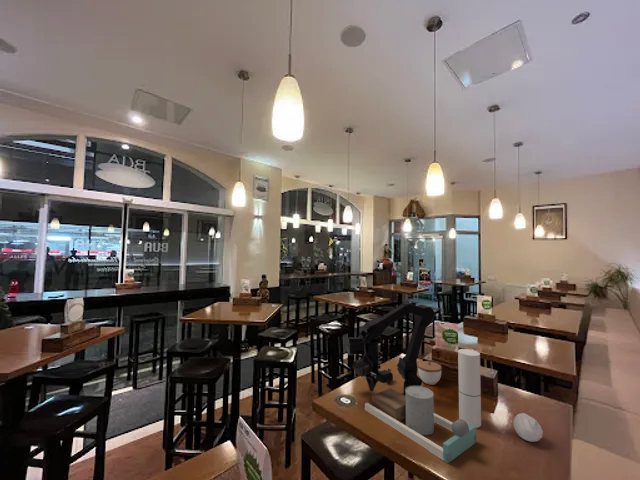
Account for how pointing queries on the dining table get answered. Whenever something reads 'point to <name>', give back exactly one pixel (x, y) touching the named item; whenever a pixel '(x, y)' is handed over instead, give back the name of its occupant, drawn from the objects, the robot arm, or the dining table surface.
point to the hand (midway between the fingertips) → (371, 391)
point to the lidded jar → (429, 372)
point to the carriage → (391, 403)
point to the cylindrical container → (469, 387)
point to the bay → (451, 447)
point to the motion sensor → (527, 427)
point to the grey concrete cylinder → (420, 409)
